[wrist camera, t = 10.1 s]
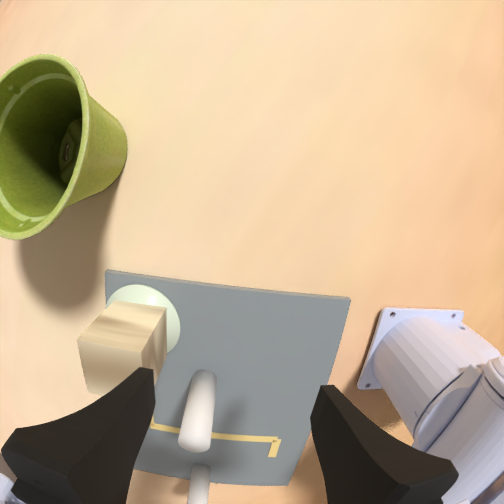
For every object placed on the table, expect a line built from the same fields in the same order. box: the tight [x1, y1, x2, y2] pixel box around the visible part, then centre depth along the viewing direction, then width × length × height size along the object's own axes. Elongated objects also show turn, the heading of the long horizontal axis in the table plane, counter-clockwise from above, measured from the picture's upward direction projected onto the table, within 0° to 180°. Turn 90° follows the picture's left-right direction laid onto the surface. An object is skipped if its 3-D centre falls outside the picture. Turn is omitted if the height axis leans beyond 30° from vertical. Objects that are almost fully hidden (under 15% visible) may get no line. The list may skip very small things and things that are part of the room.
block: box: [77, 300, 167, 396], centre depth 17 cm, size 4×4×6 cm
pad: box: [105, 284, 181, 353], centre depth 20 cm, size 6×6×1 cm
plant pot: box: [0, 54, 127, 240], centre depth 14 cm, size 9×9×9 cm
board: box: [105, 270, 351, 504], centre depth 20 cm, size 18×24×8 cm
